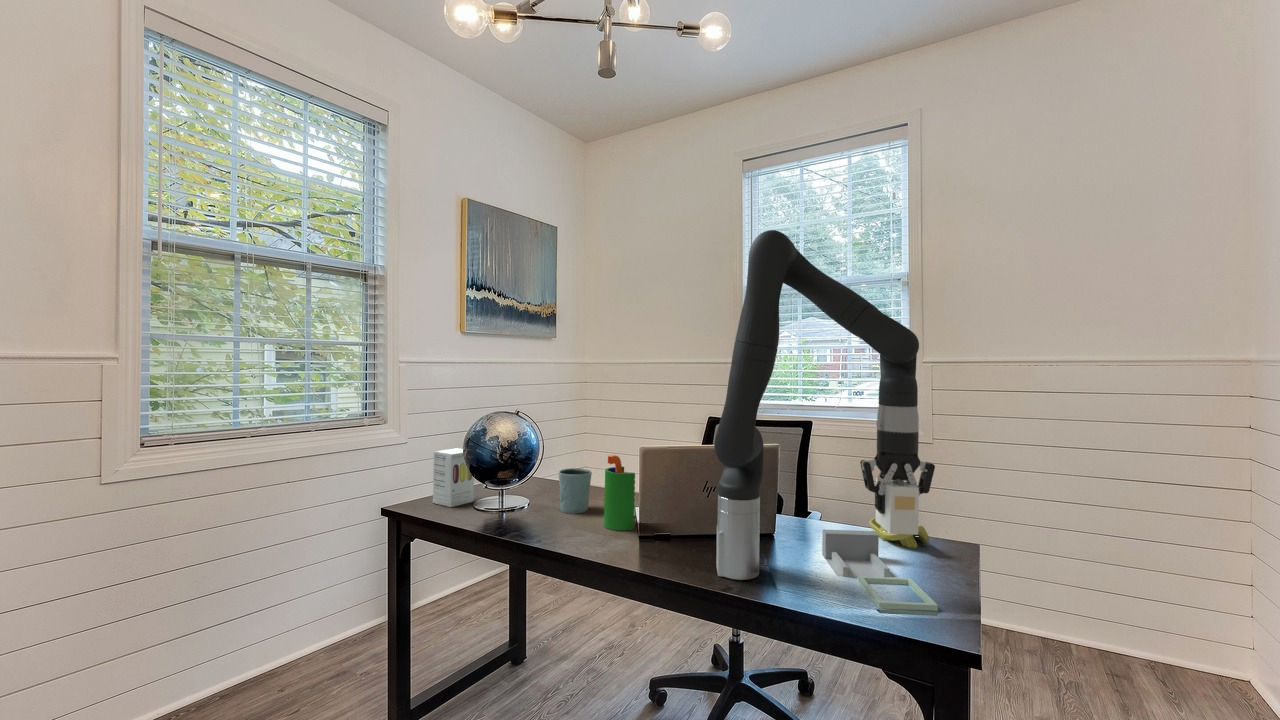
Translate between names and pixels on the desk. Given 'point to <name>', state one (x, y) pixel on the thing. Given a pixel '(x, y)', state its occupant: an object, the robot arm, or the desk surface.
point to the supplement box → (451, 479)
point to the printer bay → (858, 567)
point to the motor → (619, 497)
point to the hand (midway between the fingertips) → (896, 512)
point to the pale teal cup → (574, 490)
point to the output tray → (927, 605)
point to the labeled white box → (900, 508)
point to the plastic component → (900, 535)
